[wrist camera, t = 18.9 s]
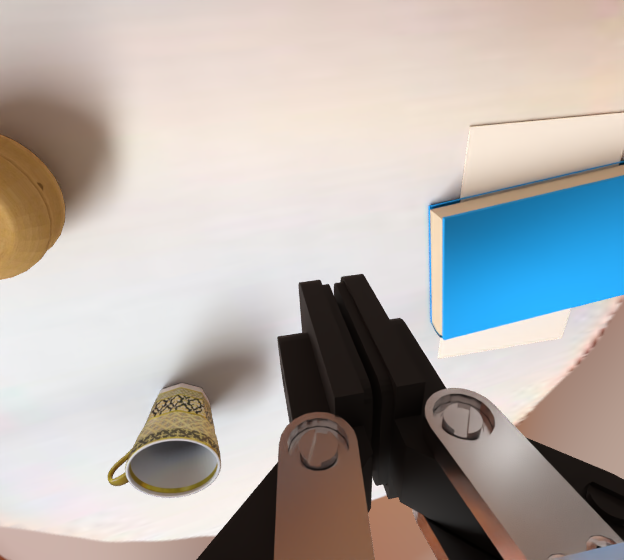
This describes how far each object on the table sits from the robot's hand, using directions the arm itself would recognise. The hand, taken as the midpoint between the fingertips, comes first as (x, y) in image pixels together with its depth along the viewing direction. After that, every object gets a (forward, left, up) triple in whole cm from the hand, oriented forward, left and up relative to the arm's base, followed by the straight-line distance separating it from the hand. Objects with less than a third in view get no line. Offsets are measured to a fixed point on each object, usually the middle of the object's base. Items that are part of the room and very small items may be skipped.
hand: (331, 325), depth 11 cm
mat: (+18, +31, -32) cm, 48 cm away
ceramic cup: (+34, -15, -32) cm, 49 cm away
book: (+17, +31, -32) cm, 48 cm away
